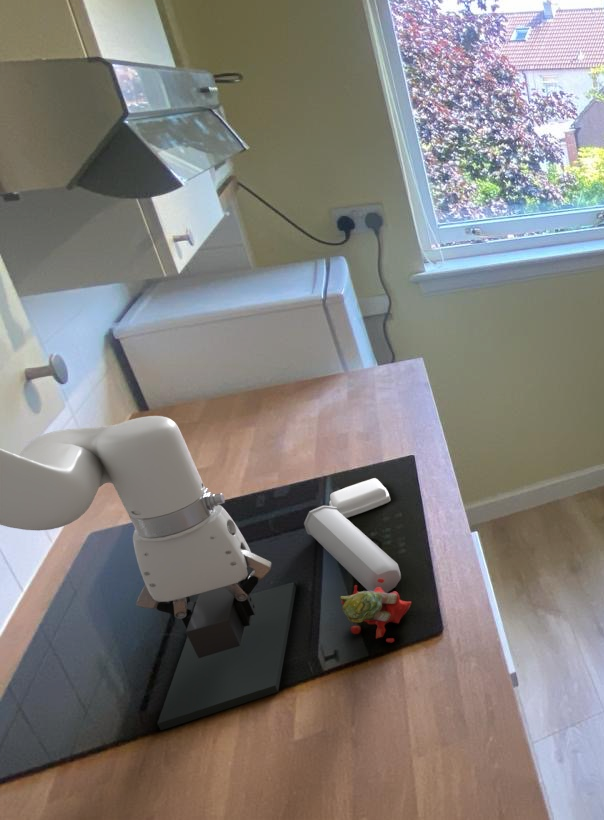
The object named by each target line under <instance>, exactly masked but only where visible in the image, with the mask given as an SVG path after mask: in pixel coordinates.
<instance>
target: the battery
mask: <svg viewBox="0 0 604 820" xmlns="http://www.w3.org/2000/svg"><path fill="white" fill-rule="evenodd" d="M195 602H196V604H195V607H194V610H193V613H192V616H191V619H190V621H189V624H188V627H187V628H186V630H185V634H186V637H187V636H188V638H189V640H190V642H191V644H192V646H193V648H194V650H195V652H196V654H197V656H198V658H202V657H205V656H208V655H212V654H215V653H218V652H221V651H225V650H228V649H231V648H234V647H238V646H240V644H241V640H242V636H243V632H244V628H245V626H243V624H242V622H241V620H240V617H239V615H238V613H237V611H236V609H235V606H234V603H235V597H234V596H233V595H232V594H231V593H230V592H229V591H228V589H227V588H226V587H221V588H217V589H214V590H210V591H207V592H203V593H199V594H198V595H197V599H196V601H195Z"/></svg>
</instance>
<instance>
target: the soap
mask: <svg viewBox="0 0 604 820" xmlns="http://www.w3.org/2000/svg"><path fill="white" fill-rule="evenodd" d="M329 499H330V500H329V502H328V504H329V505H328V506H331V507H337V509H338V511H339V512H340V513H341V514H342V515H343V516H344V517H345V518H346V519H348V518H350V517H354V516H356V515H359V514H363V513H365V512H368V511H370V510H373V509H375V508H378V507H381V506H383V505H385V504H388V503H389V502H391V496H390V493H389V491H388V489H387V487H385V486H384V485H383V483H382V482H381V481H380V480H379V479H378V478H376V477H374V478H370V479H366V480H364V481H361V482H357V483H355V484H352V485H349V486H346V487H344V488H342V489H338V490H336V491H334V492H331V493H330V494H329Z"/></svg>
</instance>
